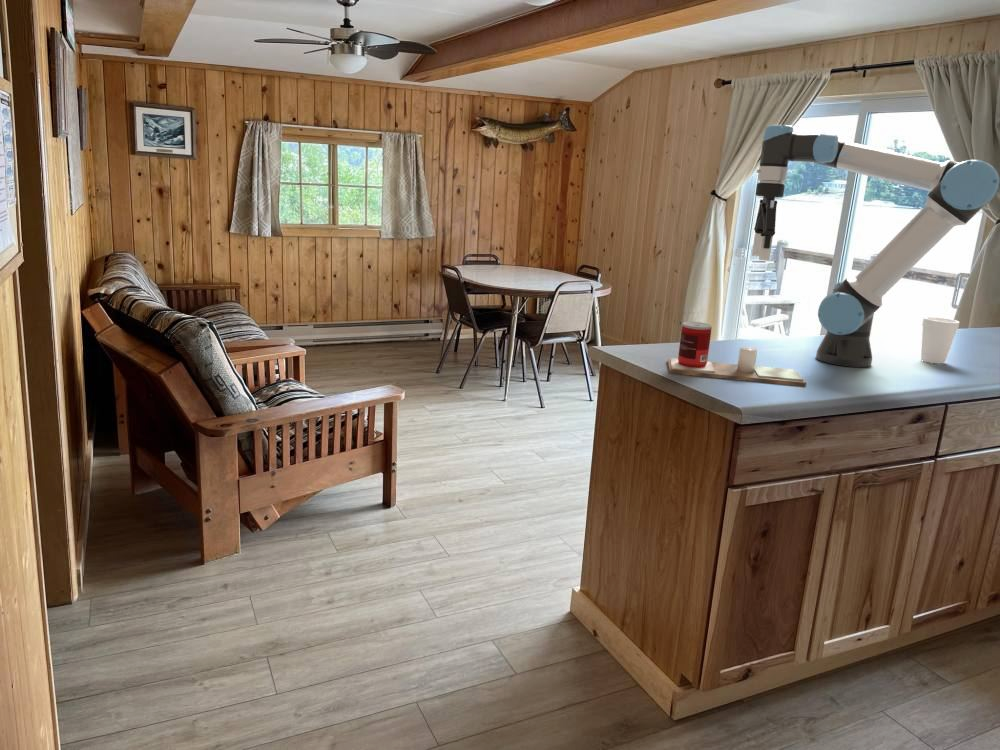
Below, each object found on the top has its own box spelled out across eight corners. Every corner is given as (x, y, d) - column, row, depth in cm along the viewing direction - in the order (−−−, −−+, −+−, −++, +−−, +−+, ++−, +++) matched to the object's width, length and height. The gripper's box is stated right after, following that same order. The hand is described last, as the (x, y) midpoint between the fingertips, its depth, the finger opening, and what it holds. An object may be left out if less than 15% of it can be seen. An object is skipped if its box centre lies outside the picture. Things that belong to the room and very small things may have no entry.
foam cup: (948, 360, 230) (957, 319, 227) (952, 366, 222) (961, 324, 219) (914, 356, 234) (922, 315, 231) (916, 362, 226) (924, 320, 222)
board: (794, 373, 203) (795, 368, 203) (805, 386, 190) (806, 381, 189) (667, 361, 208) (668, 356, 208) (669, 373, 195) (670, 368, 195)
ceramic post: (752, 369, 200) (756, 347, 198) (755, 373, 196) (758, 351, 194) (735, 368, 201) (739, 346, 199) (738, 372, 196) (741, 349, 195)
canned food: (705, 362, 203) (710, 323, 200) (707, 369, 196) (712, 328, 193) (677, 359, 205) (681, 320, 202) (677, 366, 197) (682, 325, 194)
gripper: (750, 181, 223) (741, 253, 229) (764, 181, 199) (753, 261, 205) (777, 183, 222) (766, 254, 227) (793, 183, 198) (781, 263, 204)
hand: (760, 258), depth 216 cm, fingers open, 13 cm apart
